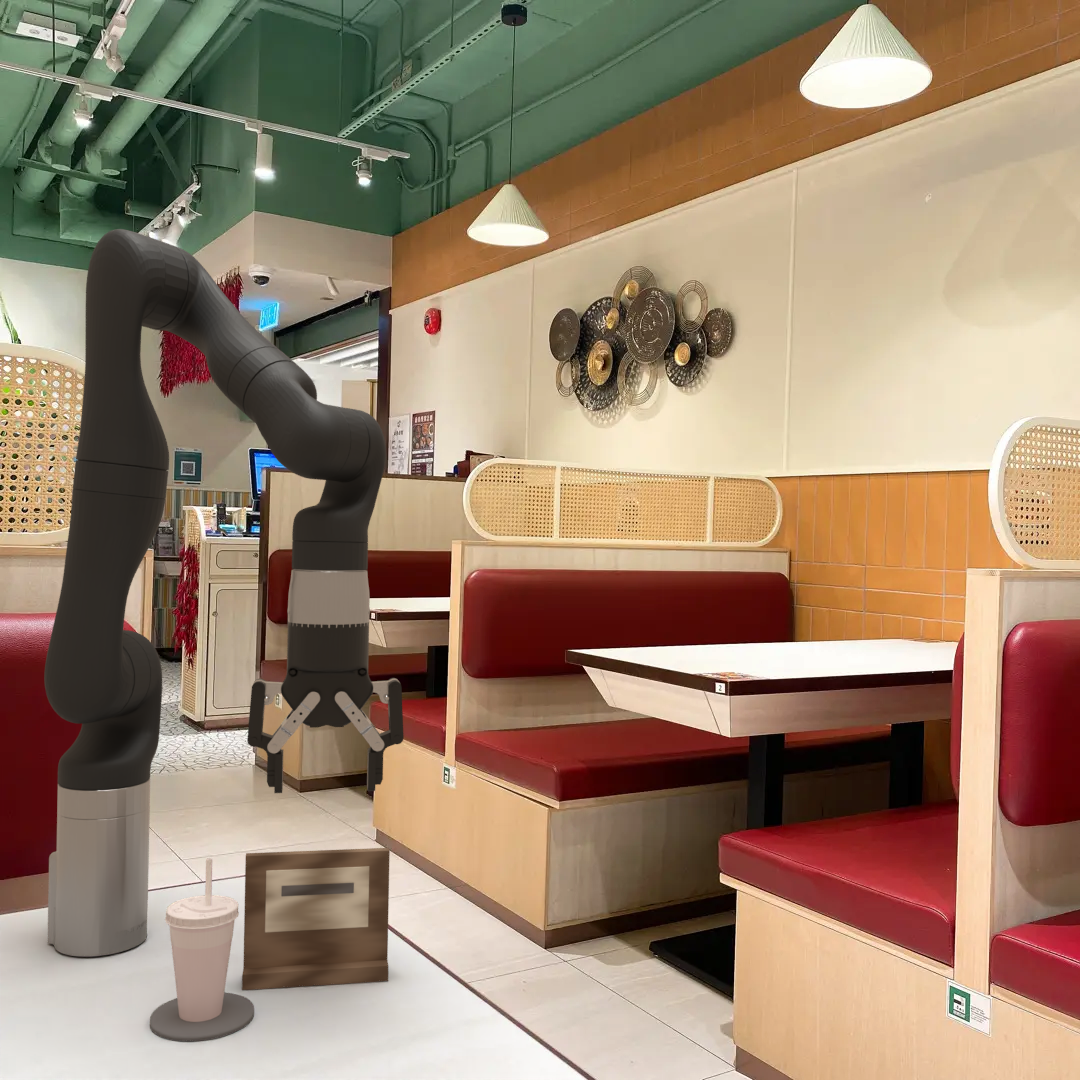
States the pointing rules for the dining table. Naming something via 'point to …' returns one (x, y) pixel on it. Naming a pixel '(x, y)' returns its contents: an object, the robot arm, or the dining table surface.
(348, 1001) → the dining table surface
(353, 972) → the placard
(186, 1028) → the coaster
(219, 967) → the smoothie
